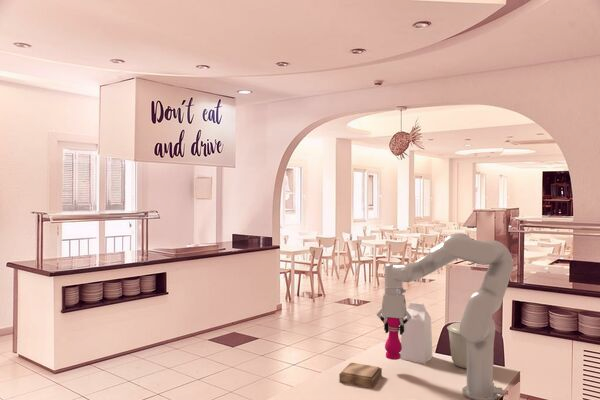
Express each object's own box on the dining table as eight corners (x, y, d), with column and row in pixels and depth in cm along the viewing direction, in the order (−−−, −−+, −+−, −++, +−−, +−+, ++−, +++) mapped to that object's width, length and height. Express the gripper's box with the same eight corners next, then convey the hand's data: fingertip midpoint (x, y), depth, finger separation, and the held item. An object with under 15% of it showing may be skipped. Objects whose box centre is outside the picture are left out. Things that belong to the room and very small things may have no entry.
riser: (381, 376, 198) (381, 366, 198) (372, 388, 185) (372, 378, 185) (350, 370, 204) (350, 361, 204) (339, 382, 191) (339, 372, 191)
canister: (484, 375, 200) (485, 326, 200) (442, 367, 209) (442, 320, 209) (492, 363, 215) (492, 317, 215) (452, 355, 225) (452, 312, 224)
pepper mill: (401, 361, 199) (402, 314, 199) (384, 359, 200) (385, 313, 200) (401, 355, 206) (402, 310, 206) (384, 353, 207) (386, 309, 207)
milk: (432, 356, 223) (433, 302, 223) (425, 363, 214) (425, 307, 213) (408, 352, 230) (408, 299, 230) (399, 358, 220) (400, 303, 220)
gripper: (415, 291, 203) (415, 333, 203) (376, 288, 210) (377, 329, 210) (411, 294, 196) (412, 337, 196) (372, 291, 203) (372, 333, 203)
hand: (394, 332), depth 203 cm, fingers closed on pepper mill, 5 cm apart
